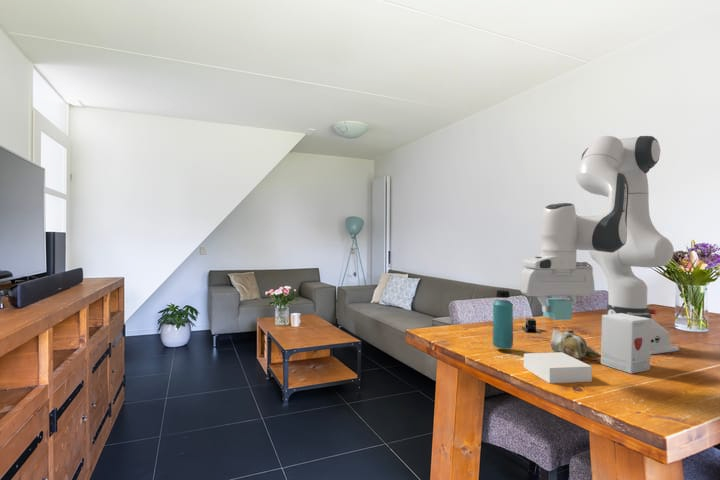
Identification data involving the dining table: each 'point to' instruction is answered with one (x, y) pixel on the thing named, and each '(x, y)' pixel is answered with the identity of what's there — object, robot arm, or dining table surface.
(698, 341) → the dining table surface
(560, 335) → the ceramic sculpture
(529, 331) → the black boxy piece
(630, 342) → the supplement box
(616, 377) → the dining table surface
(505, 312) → the beverage bottle
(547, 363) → the stand
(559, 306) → the cube
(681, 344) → the dining table surface
